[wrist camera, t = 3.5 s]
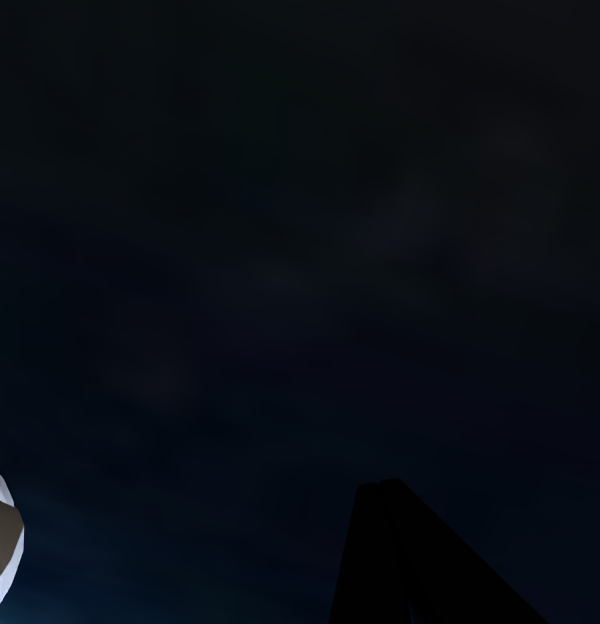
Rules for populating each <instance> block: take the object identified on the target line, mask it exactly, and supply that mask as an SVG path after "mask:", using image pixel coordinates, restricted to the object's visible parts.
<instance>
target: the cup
mask: <svg viewBox="0 0 600 624" xmlns="http://www.w3.org/2000/svg"><path fill="white" fill-rule="evenodd" d="M23 541H24V524H23V521H22V518H21V516H20V513H19V510H18V508H15V507H14V503H13V499H12V497H11V495H10V492H9V490H8V488H7V486H6V483H5V481H4V479H3V477H2V476H1V475H0V603H1V601H2V599H3V598H4V596H5V594H6V593H7V591H8V589H9V588H10V586H11V584H12V581H13V579H14V576H15V573H16V570H17V567H18V564H19V561H20V559H21V556H22V553H23Z"/></svg>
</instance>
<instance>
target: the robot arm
mask: <svg viewBox="0 0 600 624" xmlns="http://www.w3.org/2000/svg"><path fill="white" fill-rule="evenodd" d="M409 608H410V610H409ZM410 612H411V615H412V618H413V621H414V624H548V623H547V622H546V621H545V620H544V619H543V618H542V617H541V616H540V615H539V614H538V613H537V612H536V611H535V610H534V609H533V608H532V607H531V606H530V605H529V604H528V603H527V602H526V601H525V600H524V599H523V598H522V597H521V596H520V595H519V594H518V593H517V592H516V591H515V590H514V589H512V588H511V587H510V586H509V585H508V584H507V583H506V582H505V581H504V580H503V579H502V578H501V577H500V576H499V575H498V574H497V573H496V572H495V571H494V570H493V569H492V568H491V567H490V566H489V565H488V564H487V563H486V562H485V561H484V560H483V559H482V558H481V557H480V556H479V555H478V554H477V553H476V552H475V551H474V550H472V549H471V548H470V547H469V546H468V545H467V544H466V543H465V542H464V541H463V540H462V539H461V538H460V537H459V536H458V535H457V534H456V533H455V532H454V531H453V530H452V529H451V528H450V527H449V526H448V525H447V524H446V523H445V522H444V521H443V520H442V519H441V518H440V517H439V516H438V515H437V514H436V513H435V512H433V511H432V510H431V509H430V508H429V507H428V506H427V505H426V504H425V503H424V502H423V501H422V500H421V499H420V498H419V497H418V496H417V495H416V494H415V493H414V492H413V491H412V490H411V489H410V488H409V487H408V486H407V485H406V484H405V483H404V482H403V481H402V480H400V479H399V478H392V479H387V480H382V481H380V482H379V484H378V483H377V482H371V483H366V484H361V485H359V486H358V487H357V490H356V495H355V500H354V505H353V509H352V514H351V519H350V523H349V528H348V533H347V538H346V542H345V547H344V552H343V556H342V561H341V566H340V571H339V575H338V580H337V585H336V589H335V594H334V599H333V604H332V608H331V613H330V618H329V622H328V624H412V621H411V615H410Z"/></svg>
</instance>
